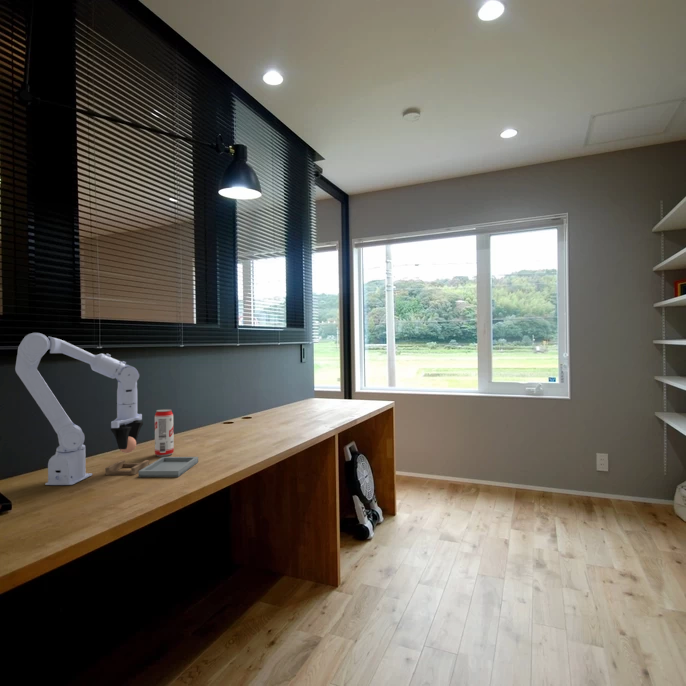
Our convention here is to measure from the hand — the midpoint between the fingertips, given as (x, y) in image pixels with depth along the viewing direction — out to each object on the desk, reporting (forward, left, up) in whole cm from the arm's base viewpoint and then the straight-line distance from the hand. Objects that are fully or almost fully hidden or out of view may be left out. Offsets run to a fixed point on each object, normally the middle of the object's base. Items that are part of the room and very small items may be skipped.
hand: (127, 446), depth 133 cm
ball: (0, 0, +1) cm, 1 cm away
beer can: (+19, -3, -8) cm, 21 cm away
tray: (+1, -13, -7) cm, 15 cm away
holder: (0, 0, -7) cm, 7 cm away
